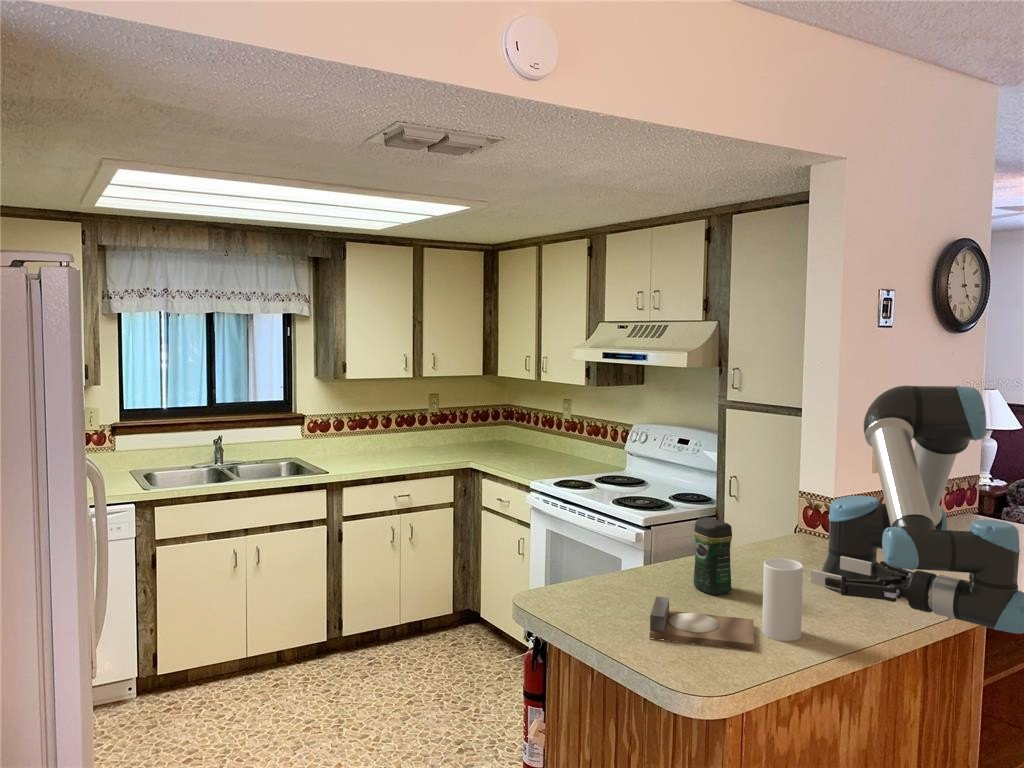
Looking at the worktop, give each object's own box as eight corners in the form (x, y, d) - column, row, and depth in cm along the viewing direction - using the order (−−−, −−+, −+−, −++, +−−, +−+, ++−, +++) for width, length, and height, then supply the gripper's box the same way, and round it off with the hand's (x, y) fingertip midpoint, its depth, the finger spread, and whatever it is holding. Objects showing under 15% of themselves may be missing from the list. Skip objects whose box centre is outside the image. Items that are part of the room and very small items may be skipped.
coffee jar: (736, 593, 198) (738, 522, 197) (711, 597, 195) (712, 525, 194) (712, 581, 207) (713, 513, 206) (688, 585, 204) (689, 516, 203)
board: (753, 625, 177) (753, 604, 177) (753, 650, 164) (754, 627, 164) (656, 615, 184) (656, 595, 183) (649, 638, 170) (649, 616, 170)
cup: (756, 627, 177) (757, 558, 175) (791, 625, 177) (793, 557, 176) (770, 641, 168) (772, 570, 167) (807, 640, 169) (809, 569, 168)
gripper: (909, 630, 140) (798, 600, 156) (955, 597, 157) (851, 573, 173) (911, 590, 140) (799, 564, 155) (957, 561, 157) (852, 540, 172)
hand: (826, 569), depth 164 cm, fingers open, 13 cm apart
